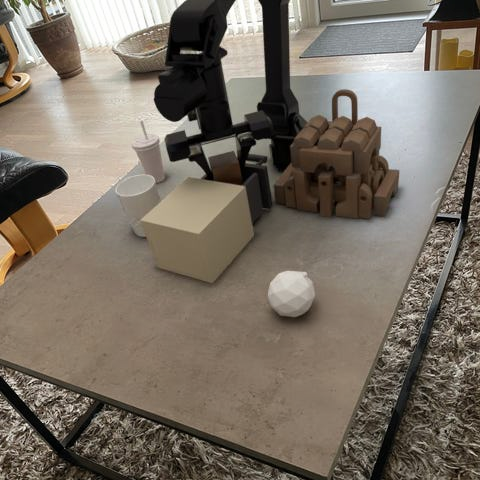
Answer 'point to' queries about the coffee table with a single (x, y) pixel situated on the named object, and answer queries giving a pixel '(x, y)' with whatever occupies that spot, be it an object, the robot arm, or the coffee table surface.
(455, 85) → the coffee table surface
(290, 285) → the ornament
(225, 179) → the block
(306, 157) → the wooden puzzle
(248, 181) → the drawer
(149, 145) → the smoothie
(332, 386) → the coffee table surface
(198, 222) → the cabinet
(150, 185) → the white cup
